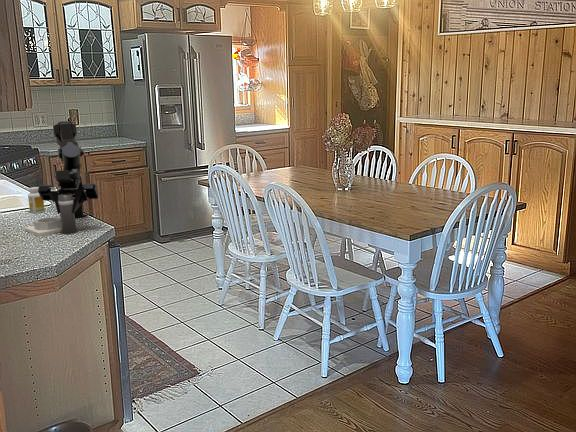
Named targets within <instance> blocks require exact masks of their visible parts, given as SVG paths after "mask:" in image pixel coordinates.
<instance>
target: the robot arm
mask: <svg viewBox="0 0 576 432" xmlns="http://www.w3.org/2000/svg"><path fill="white" fill-rule="evenodd" d="M52 130H53V138H55V140H56V144H57V145H58V146H59V148H58V149H57V152H58V153H57V154H58V159H59V160H60V161H61V162H62V163H63V167H62V170H56V171H55V172H56V173H55V177H56V178H55V181H56V182H57V185H58V187H60V188H58V187H53V186H52V184H44V185H43V184H42V185H39V186H38V187H39V188H38V193H39V195H40V196H41V198H42V200H44V202H45V201H48V202H49V201H52V202H53V203H55V206H56V212H57V214H58V215H60V209H59V203H58V201H59V200H58V195H59V194H65V193H71V194H72V196H73V213H74V215H75V219H77V218H81V217H87V216H88V214H87V213H84V209H83V203H84V202H86V201H88V200H92V199H93V200H94V199H95V200H96V199H98V198H99V190H98V189H99V188H98V187H97V185H96V184H95V183H92V182H91V183H83V180H82V177H81V169H82V168H81V167H82V163H81V158H82V157H83V155H85V154H84V150H82V148H81V147H79V143H78V141H76V137H77V136H78V131H77V130H78V129H77V124H75V123H73V122H72V121H70V120H69V121H67V120H66V121H65V120H64V121H59V122H57V124H55V125H52Z"/></svg>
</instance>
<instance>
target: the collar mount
mask: <svg viewBox="0 0 576 432" xmlns="http://www.w3.org/2000/svg"><path fill="white" fill-rule="evenodd" d="M23 228H24V231H25V232H27V233H30V234H33V235H35V236H37V237H41V236H42V237H43V236H47V235H48V236H49V235H51V234H56V233H62V226H61V218H60V216H55V217H54V216H51V217H42V218H37V219H35V220H34V221H33V225H30V226H26V227H25V226H24V227H23Z"/></svg>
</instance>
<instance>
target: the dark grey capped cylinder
mask: <svg viewBox="0 0 576 432" xmlns="http://www.w3.org/2000/svg"><path fill="white" fill-rule="evenodd" d="M73 198H74V197H73V196H72V194H71V193H65V194H59V195H58V200H59V201H58V203H59V209H60V214H59V218H61V226H62V232H61V233H62V234H63V235H71V234H75V233H77V226H76V225H77V224H76V218H75V215H74V213H73Z"/></svg>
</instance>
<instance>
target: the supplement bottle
mask: <svg viewBox="0 0 576 432" xmlns="http://www.w3.org/2000/svg"><path fill="white" fill-rule="evenodd" d="M38 188H39V186H33V187H29V188H28V189H29V193H28V195H27V197H28V206H29V213H30V214H40V213H44V212H45V210H46V209H45V201H44V200H42V198H41V196H40V195H39V193H38Z"/></svg>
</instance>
